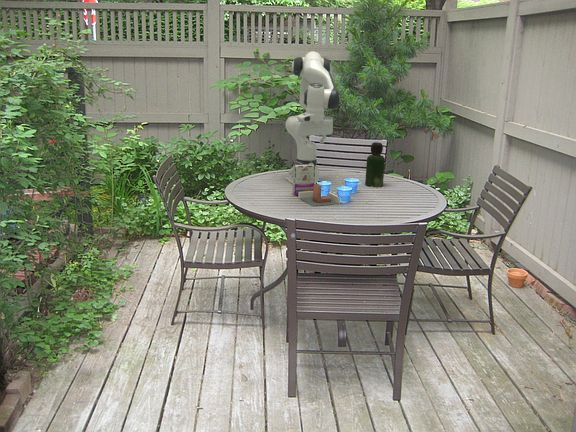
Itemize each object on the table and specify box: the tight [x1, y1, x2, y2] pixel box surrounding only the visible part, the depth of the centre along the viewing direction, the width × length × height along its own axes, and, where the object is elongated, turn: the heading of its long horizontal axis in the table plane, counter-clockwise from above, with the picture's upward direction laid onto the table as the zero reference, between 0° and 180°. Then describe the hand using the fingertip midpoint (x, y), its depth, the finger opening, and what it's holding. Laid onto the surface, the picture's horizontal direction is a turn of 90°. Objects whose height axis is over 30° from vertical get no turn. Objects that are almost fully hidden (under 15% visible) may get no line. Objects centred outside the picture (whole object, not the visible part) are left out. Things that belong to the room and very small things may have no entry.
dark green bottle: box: [364, 141, 386, 188], centre depth 370 cm, size 10×10×25 cm
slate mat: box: [299, 197, 340, 207], centre depth 332 cm, size 16×14×1 cm
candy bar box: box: [291, 164, 315, 197], centre depth 343 cm, size 11×5×16 cm, turn 105°
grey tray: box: [297, 191, 342, 205], centre depth 332 cm, size 18×16×4 cm
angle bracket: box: [313, 183, 331, 203], centre depth 329 cm, size 5×8×9 cm, turn 116°
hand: (313, 143), depth 322 cm, fingers open, 8 cm apart
